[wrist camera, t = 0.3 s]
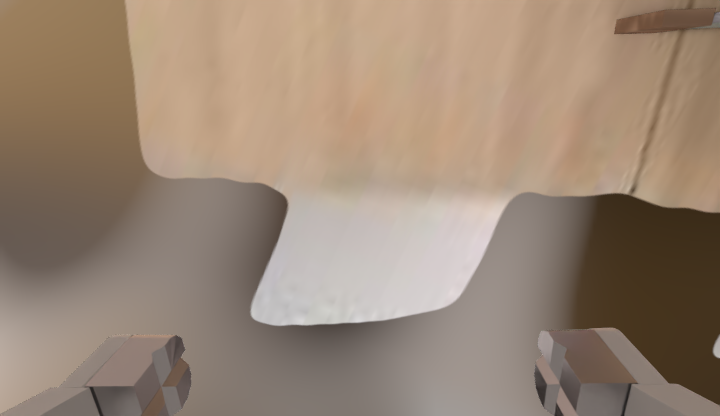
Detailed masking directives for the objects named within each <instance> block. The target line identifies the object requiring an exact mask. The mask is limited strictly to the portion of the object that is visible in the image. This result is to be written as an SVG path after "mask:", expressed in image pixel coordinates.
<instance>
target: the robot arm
mask: <svg viewBox="0 0 720 416" xmlns="http://www.w3.org/2000/svg"><path fill="white" fill-rule="evenodd" d="M538 347H539V349H540V351H541V353H542V354H543V355H542V356H541V357H540V358H539V359H538V360H537V361H536V362H535V372H534V377H535V385H536V390H537V393H538V396H539V399H540V401H541V403H542V405H543V407H544V409H546V410H547V411H548V412H550V413H551V414H553V415H554V416H720V406H719V405H717V404H715V403H713V402H711V401H709V400H707V399H705V398H703V397H702V396H700V395H698V394H696V393H694V392H692V391H690V390H688V389H686V388H684V387H682V386H680V385H678V384H669V383H668V382H667V381H666V380H665V379H664V378H663V377H662V376H661V375H660V374H659V373H658V371H657V370H656V369H655V368H654V367H653V366H652V365H651V364H650V363H649V362H648V361H647V360H646V359H645V358H644V356H643V355H642V354H641V353H640V352H639V351H638V350H637V349H636V348H635V347H634V346H633V345H632V343H631V342H630V341H629V340H628V339H627V338H626V337H625V336H624V335H623V334H622V333H621V332H620V331H619V330H617V329H615V328H596V329H589V330H542V331H541V333H540V335H539V339H538ZM184 351H185V347H184V344H183V341H182V338H181V337H179V336H177V335H114V336H111V337H109V338H107V339H106V340H105V341H104V342H103V343H102V344H101V345H100V346H99V347H98V348H97V349H96V350H95V351H94V352H93V353H92V354H91V355H90V356H89V357H88V358H87V359H86V360H85V361H84V362H83V363H82V364H81V365H80V366H79V367H78V368H77V369H76V370H75V371H74V372H73V373H72V374H71V375H70V376H69V377H68V378H67V379H66V380H65V381H64V382H63V383H62V384H61V385H60V386H59V387H58V388H49V389H47V390H45V391H43V392H42V393H40V394H38V395H36V396H34V397H32V398H30V399H28V400H26V401H24V402H22V403H20V404H18V405H17V406H15V407H13V408H11V409H9V410H7V411H5V412H3V413H1V414H0V416H173V415H174V414H176V413H177V412H178V411H179V410H181V409H182V408H183V406H184V404H185V402H186V400H187V398H188V395H189V391H190V387H191V371H190V367H189V365H188V364H187V363H186V362H185V361H184V360H183V359H182V358H181V356H182V354H183V353H184Z"/></svg>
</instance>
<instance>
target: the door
mask: <svg viewBox="0 0 720 416" xmlns="http://www.w3.org/2000/svg"><path fill="white" fill-rule="evenodd" d="M695 28H720V12H717V13H715V14H714V18H713V22H712V25H711V26H703V27H695ZM695 28H688V29H695Z"/></svg>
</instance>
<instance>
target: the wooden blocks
mask: <svg viewBox="0 0 720 416" xmlns="http://www.w3.org/2000/svg"><path fill="white" fill-rule="evenodd" d="M715 10H716V8H707V9H680V10H663V11H658V12H653V13H648V14H643V15H639V16H634V17H629V18H624V19H619V20H617V21H616V27H615V33H614V34H632V33H657V32H665V31H673V30H680V29H688V28H695V27H703V26H711V25H712V22H713V18H714V14H715Z"/></svg>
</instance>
